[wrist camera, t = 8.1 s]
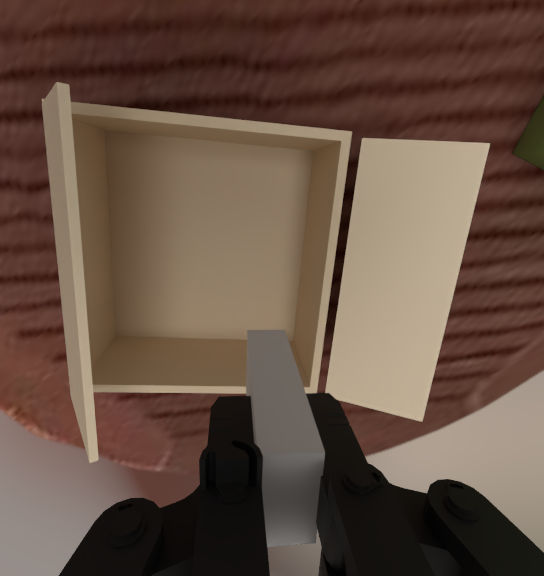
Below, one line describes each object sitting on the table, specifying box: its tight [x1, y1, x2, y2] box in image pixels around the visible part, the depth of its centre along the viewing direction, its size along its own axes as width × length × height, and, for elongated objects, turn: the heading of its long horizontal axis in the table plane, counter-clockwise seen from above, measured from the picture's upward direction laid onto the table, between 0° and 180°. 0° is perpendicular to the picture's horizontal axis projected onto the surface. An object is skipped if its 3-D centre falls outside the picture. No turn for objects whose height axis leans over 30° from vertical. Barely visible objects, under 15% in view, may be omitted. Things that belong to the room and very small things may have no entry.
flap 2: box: [325, 138, 490, 422], centre depth 27 cm, size 21×1×8 cm
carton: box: [42, 99, 352, 393], centre depth 32 cm, size 22×21×10 cm
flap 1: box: [42, 82, 98, 463], centre depth 22 cm, size 21×1×8 cm
